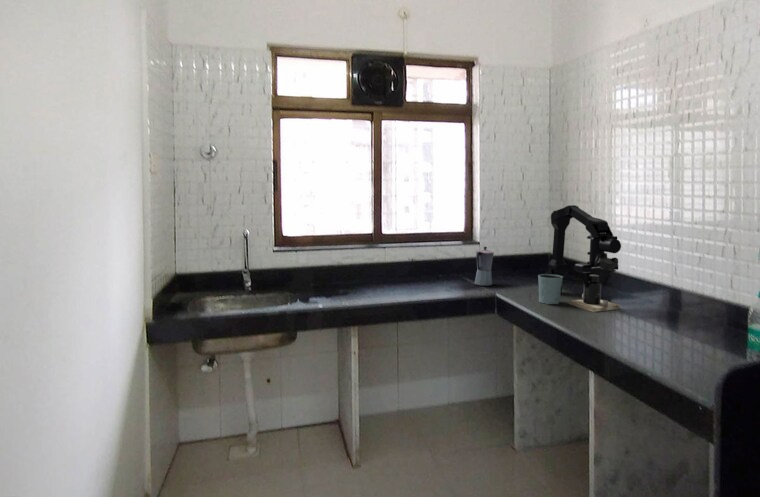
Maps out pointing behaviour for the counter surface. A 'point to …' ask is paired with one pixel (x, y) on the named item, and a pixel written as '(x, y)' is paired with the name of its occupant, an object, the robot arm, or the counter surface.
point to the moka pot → (484, 267)
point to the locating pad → (594, 308)
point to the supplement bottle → (592, 291)
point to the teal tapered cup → (549, 288)
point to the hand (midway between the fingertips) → (595, 286)
